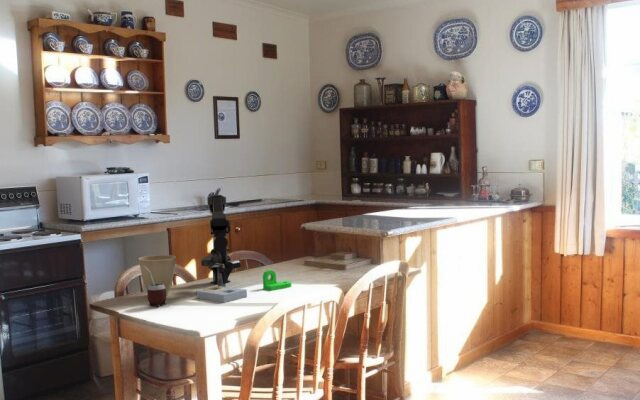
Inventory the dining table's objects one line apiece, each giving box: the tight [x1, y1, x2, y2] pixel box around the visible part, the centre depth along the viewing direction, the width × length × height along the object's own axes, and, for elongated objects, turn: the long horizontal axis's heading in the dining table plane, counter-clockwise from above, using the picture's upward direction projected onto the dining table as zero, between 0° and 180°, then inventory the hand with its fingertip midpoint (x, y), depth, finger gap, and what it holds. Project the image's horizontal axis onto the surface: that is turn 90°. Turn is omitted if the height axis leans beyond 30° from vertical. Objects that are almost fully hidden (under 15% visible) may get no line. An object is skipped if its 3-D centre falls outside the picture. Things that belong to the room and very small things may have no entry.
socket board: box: [196, 285, 248, 304], centre depth 262 cm, size 16×12×3 cm
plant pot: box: [138, 254, 177, 297], centre depth 270 cm, size 15×15×16 cm
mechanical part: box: [262, 269, 292, 292], centre depth 279 cm, size 12×6×8 cm, turn 130°
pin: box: [217, 267, 227, 287], centre depth 277 cm, size 3×3×10 cm
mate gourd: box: [144, 266, 167, 308], centre depth 252 cm, size 8×8×15 cm
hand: (221, 283), depth 277 cm, fingers open, 3 cm apart
